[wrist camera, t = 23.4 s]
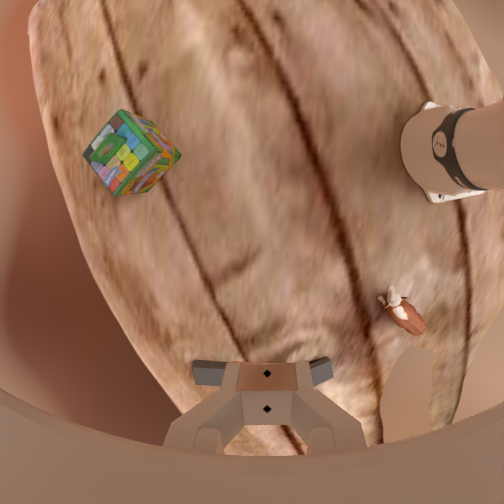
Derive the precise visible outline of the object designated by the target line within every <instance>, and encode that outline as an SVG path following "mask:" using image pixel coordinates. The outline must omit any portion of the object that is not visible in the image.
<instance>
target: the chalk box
mask: <svg viewBox="0 0 504 504" xmlns="http://www.w3.org/2000/svg"><path fill="white" fill-rule="evenodd" d="M82 155H83V157H84V158H85V159H86V160H87V162H88V163H89V165H90V166H91V167H92V169H93V170H94V171H95V172H96V174H97V175H98V176H99V178H100V179H101V180H102V182H103V183H104V184H105V186H106V187H107V188H108V190H109V191H110V192H111V193H112V195H113V196H120V195H126V194H134V193H142V192H148V191H149V190H150V189H151V187H152V186H153V185H154V184H155V183H156V182H157V181H158V180H159V179H160V178H161V177H162V176H163V175H164V174H165V173H166V172H167V171H168V170H169V169H170V168H171V167H172V165H173V164H175V163H176V161H177V160H178V159H179V158H180V157H181V154H180V153H179V151H178V150H177V149H176V148H175V147H174V146H173V145H172V143H171V142H170V141H169V140H168V139H167V138H166V137H165V136H164V134H163V133H162V132H161V131H160V130H159V129H158V128H157V127H156V126H155V125H154V123H153V122H151V121H149V120H147V119H144V118H142V117H140V116H137V115H135V114H133V113H130V112H128V111H125V110H123V109H121V110H119V111H118V112H116V114H115V115H114V116H113V117H112V118H111V119H110V120H109V121H108V123H107V124H106V125H105V126H104V127H103V128H102V130H101V131H100V132H99V133H98V135H97V136H96V137H95V138H94V139H93V141H92V142H91V143H90V145H89V146H88V147H87V149H86V150H85V151H84V153H83V154H82Z"/></svg>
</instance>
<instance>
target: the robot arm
mask: <svg viewBox="0 0 504 504" xmlns="http://www.w3.org/2000/svg"><path fill="white" fill-rule="evenodd" d="M401 155H402V159H403V162H404V165H405V167H406V169H407V171H408V173H409V175H410V176H411V177H412V179H413V180H414V181H415V182H416V183H417V184H418V185H419V186H421V187H422V188H423V190H424V192H425V194H426V196H427V198H428V199H429V201H430V202H431V203H440V202H445V201H450V200H455V199H459V198H464V197H469V196H474V195H479V194H483V193H484V192H485V190H489V189H491V190H497V191H502V192H504V97H503V98H502V99H501V100H499V101H498V102H496V103H494V104H491V105H489V106H486V107H483V108H479V109H474V108H462V109H461V108H459V107H456V108H455V107H453V105H450V104H448V105H443V106H440V105H438V104H435V103H433V102H426V103H424V105H423V106H422V108H421V110H420V112H419V113H418V114H416V115H415V116H413V117H412V118H411V119H410V120H409V121H408V122H407V123H406V125H405V127H404V129H403V132H402V136H401ZM439 194H440V197H438V195H439ZM267 424H268V425H291V426H292V428H293V429H294V430H295V431H296V432H297V434H298V435H299V436H300V437H301V438H302V440H303V441H304V442H305V443H306V444H307V445H308V448H307V454H306V455H295V456H237V455H225V453H224V448H225V447H226V446H227V444H228V443H229V442H230V441H231V440H232V439H233V438H234V437H235V436H236V435H237V434H238V433H239V431H240V430H241V429H242V428H243V427H244V425H267ZM0 504H504V402H502V403H500V404H498V405H496V406H494V407H491V408H489V409H487V410H485V411H483V412H481V413H478V414H476V415H474V416H471V417H469V418H466V419H464V420H461V421H459V422H457V423H454V424H451V425H448V426H445V427H442V428H439V429H436V430H433V431H430V432H427V433H424V434H420V435H417V436H413V437H410V438H406V439H402V440H398V441H394V442H390V443H385V444H381V445H376V446H370V447H367V444H366V441H365V437H364V433H363V430H362V427H361V423H360V422H359V421H358V420H357V419H355V418H354V417H353V416H351V415H350V414H349V413H347V412H346V411H345V410H343V409H342V408H341V407H339V406H338V405H337V404H335V403H334V402H333V401H332V400H330V399H329V398H328V397H326V396H325V395H324V394H323V393H321V392H320V391H319V390H314V389H313V383H312V377H311V372H310V366H309V362H308V361H304V362H295V363H227V364H226V367H225V372H224V376H223V380H222V384H221V389H220V391H215V392H214V393H212V394H211V395H210V396H208V397H207V398H205V399H204V400H203V401H201V402H200V403H199V404H197V405H196V406H195V407H193V408H192V409H190V410H189V411H188V412H186V413H185V414H183V415H182V416H180V417H179V418H178V419H176V420H175V421H173V422H172V423H171V425H170V428H169V431H168V433H167V436H166V438H165V441H164V444H163V446H162V447H161V446H155V445H151V444H146V443H141V442H136V441H133V440H129V439H124V438H121V437H117V436H114V435H110V434H106V433H103V432H100V431H97V430H94V429H90V428H87V427H85V426H82V425H79V424H76V423H73V422H71V421H68V420H66V419H63V418H60V417H58V416H56V415H53V414H51V413H48V412H46V411H44V410H42V409H39V408H37V407H35V406H33V405H31V404H29V403H27V402H25V401H22V400H21V399H19V398H17V397H15V396H13V395H11V394H9V393H8V392H6V391H4V390H3V389H1V388H0Z"/></svg>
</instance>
